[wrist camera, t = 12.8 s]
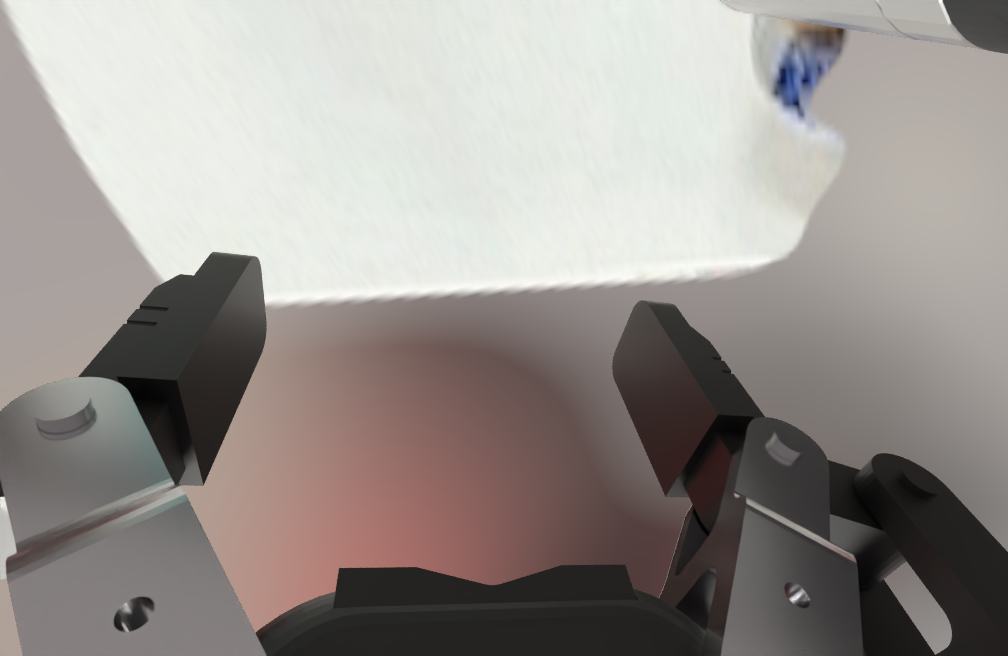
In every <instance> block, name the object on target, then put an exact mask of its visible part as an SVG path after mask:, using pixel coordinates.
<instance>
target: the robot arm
mask: <svg viewBox="0 0 1008 656" xmlns="http://www.w3.org/2000/svg"><path fill="white" fill-rule="evenodd" d="M720 1H721V2H722V3H724V4H725V5H727V6H729V7H730V8H732V9H734V10H737V11H741V12H745V13H750V14H756V15H762V16H769V17H774V18H780V19H786V20H792V21H799V22H805V23H812V24H818V25H825V26H831V27H838V28H844V29H851V30H857V31H863V32H870V33H876V34H883V35H890V36H896V37H903V38H909V39H916V40H924V41H931V42H938V43H944V44H951V45H958V46H963V47H970V48H977V49H983V50H989V51H994V52H1000V53H1006V54H1008V0H720ZM265 338H266V313H265V303H264V293H263V283H262V273H261V265H260V262H259V259H258V258H257V257H255V256H247V255H238V254H229V253H220V252H213V253H211V254H210V255H209V257H208V258H207V259H206V261H205V262H204V263H203V264H202V266H201V267H200V268H199V270H198V271H197V272H196V274H195V275H194V276H192V275H182V274H180V275H178V276H176V277H174V278H172V279H170V280H169V281H167V282H165V283H163V284H161V285H159V286H157V287H155V288H154V289H153V291H152V292H151V293H150V294H149V295H148V296H147V298H146V299H145V300H144V301H143V302H142V303H141V305H140V309H136V310H135V312H134V313H133V314H132V315H131V316H130V317H129V318H128V320H127V324H123V326H122V327H121V328H120V329H119V330H118V331H117V332H116V334H115V335H114V336H113V337H112V338H111V340H110V341H109V342H108V343H107V344H106V345H105V346H104V347H103V349H102V350H101V351H100V352H99V353H98V354H97V356H96V357H95V358H94V359H93V360H92V361H91V363H90V364H89V365H88V366H87V368H85V370H84V371H83V372H82V373H81V374H80V375H79V377H76V378H70V379H64V380H60V381H55V382H52V383H48V384H45V385H42V386H40V387H37V388H35V389H32V390H30V391H28V392H26V393H24V394H23V395H21V396H19V397H18V398H16V399H14V400H13V401H11V402H10V403H9V404H8V405H7V406H5V407H4V408H3V409H2V410H1V411H0V579H4V578H7V581H8V586H9V591H10V596H11V601H12V606H13V610H14V615H15V620H16V625H17V629H18V634H19V639H20V644H21V648H22V653H23V656H1008V552H1007V551H1006V550H1005V549H1004V548H1003V547H1002V546H1001V544H1000V543H999V542H998V541H997V540H996V539H995V538H994V537H993V536H992V535H991V534H990V533H989V531H988V530H987V529H986V528H985V527H984V526H983V525H982V524H981V523H980V522H979V521H978V520H977V519H976V517H975V516H974V515H973V514H972V513H971V512H970V511H969V510H968V509H967V508H966V507H965V506H964V505H963V504H962V502H961V501H960V500H959V499H958V498H957V497H956V496H955V495H954V494H953V493H952V492H951V491H950V489H948V488H947V486H946V485H944V483H943V482H941V481H940V480H939V479H938V478H937V477H935V476H934V475H933V474H931V473H930V472H929V471H927V470H926V469H924V468H923V467H921V466H919V465H917V464H916V463H914V462H912V461H910V460H908V459H905V458H903V457H900V456H897V455H893V454H885V453H882V454H877V455H875V456H874V457H873V458H872V459H871V460H870V461H869V462H868V463H867V464H866V465H865V466H864V467H863V468H862V469H861V470H858V469H855V468H852V467H849V466H845V465H842V464H839V463H836V462H832V461H829V460H827V457H826V456H825V454H824V452H823V451H822V449H821V448H820V447H819V446H818V445H817V444H816V442H815V441H813V440H812V439H811V438H810V437H809V436H808V435H806V434H805V433H804V432H802V431H801V430H799V429H798V428H796V427H794V426H792V425H790V424H788V423H786V422H783V421H781V420H778V419H774V418H768V417H765V416H764V415H763V414H762V412H761V411H760V410H759V408H758V407H757V405H756V404H755V403H754V401H753V400H752V398H751V397H750V396H749V395H748V393H747V392H746V390H745V389H744V388H743V386H742V385H741V383H740V382H739V381H738V379H737V378H736V377H735V375H734V374H731V370H730V368H729V367H728V366H727V364H726V363H725V362H724V361H721V356H720V355H719V354H718V352H717V351H716V349H715V348H714V347H713V345H712V344H711V343H710V341H708V340H707V339H706V338H705V337H703V336H702V335H701V334H700V333H698V332H697V331H696V330H695V329H693V328H692V327H690V325H689V324H688V323H687V321H686V320H685V318H684V317H683V316H682V314H681V313H680V311H679V310H678V308H677V307H676V306H675V305H673V304H669V303H661V302H652V301H639V302H638V303H637V304H636V305H635V307H634V308H633V310H632V313H631V315H630V317H629V320H628V322H627V325H626V327H625V329H624V332H623V334H622V337H621V339H620V341H619V344H618V346H617V349H616V351H615V353H614V357H613V365H612V367H613V368H612V369H613V376H614V380H615V382H616V384H617V387H618V389H619V391H620V394H621V396H622V398H623V400H624V403H625V405H626V407H627V410H628V412H629V414H630V417H631V419H632V421H633V423H634V426H635V428H636V430H637V433H638V435H639V437H640V439H641V442H642V444H643V446H644V449H645V451H646V453H647V455H648V458H649V460H650V462H651V464H652V467H653V469H654V471H655V474H656V476H657V478H658V481H659V483H660V485H661V487H662V490H663V492H664V494H665V497H689V498H690V499H691V502H692V504H693V505H692V506H691V507H690V509H689V510H688V512H687V514H686V516H685V519H684V522H683V525H682V529H681V532H680V535H679V539H678V542H677V545H676V549H675V552H674V555H673V559H672V562H671V565H670V569H669V572H668V575H667V579H666V582H665V585H664V588H663V590H662V593H661V595H660V597H659V598H657V597H655V596H653V595H651V594H648V593H645V592H643V591H640V590H638V589H634V588H632V584H631V581H630V578H629V575H628V572H627V569H626V566H625V565H567V566H566V565H561V566H558V567H555V568H552V569H549V570H545V571H542V572H538V573H535V574H532V575H529V576H526V577H522V578H519V579H516V580H513V581H510V582H506V583H503V584H499V585H485V584H481V583H477V582H473V581H469V580H465V579H461V578H457V577H453V576H449V575H445V574H441V573H437V572H433V571H429V570H425V569H421V568H417V567H397V568H396V567H395V568H339V573H338V579H337V586H336V592H333V593H329V594H326V595H323V596H319V597H317V598H314V599H312V600H309V601H307V602H305V603H302V604H300V605H298V606H296V607H294V608H293V609H291V610H289V611H287V612H285V613H283V614H281V615H280V616H278V617H277V618H275V619H274V620H273V621H271V622H269V623H268V624H267V625H265V626H264V627H262V628H261V629H259V630H258V631H257V632H256V633H255V632H254V629H253V628H252V625H251V623H250V622H249V619H248V618H247V615H246V613H245V611H244V609H243V608H242V606H241V603H240V601H239V600H238V597H237V596H236V593H235V592H234V589H233V588H232V586H231V584H230V582H229V580H228V578H227V576H226V574H225V572H224V570H223V568H222V566H221V564H220V562H219V560H218V558H217V556H216V554H215V552H214V550H213V548H212V546H211V544H210V542H209V540H208V538H207V536H206V534H205V532H204V530H203V528H202V526H201V524H200V522H199V520H198V518H197V516H196V514H195V512H194V510H193V508H192V506H191V504H190V502H189V500H188V498H187V496H186V494H185V492H184V490H183V489H182V487H181V485H195V486H197V485H199V486H203V485H204V483H205V481H206V479H207V476H208V474H209V472H210V470H211V467H212V465H213V462H214V460H215V458H216V456H217V454H218V451H219V449H220V447H221V444H222V442H223V440H224V438H225V435H226V433H227V431H228V429H229V426H230V424H231V422H232V419H233V417H234V415H235V413H236V410H237V408H238V406H239V404H240V401H241V399H242V397H243V395H244V392H245V390H246V388H247V385H248V383H249V381H250V379H251V376H252V374H253V372H254V369H255V367H256V365H257V363H258V360H259V358H260V356H261V353H262V351H263V348H264V344H265ZM906 561H907V562H908V563H909V565H910V566H911V567H912V569H913V570H914V571H915V573H916V574H917V576H918V577H919V578H920V579H921V581H922V582H923V584H924V585H925V586H926V588H927V589H928V590H929V592H930V593H931V594H932V596H933V597H934V598H935V600H936V601H937V602H938V604H939V605H940V607H941V608H942V609H943V611H944V612H945V614H946V615H947V617H948V619H949V622H950V624H951V629H952V640H951V643H950V645H949V646H948V647H947V648H946V649H945V650H943V651H941V652H940V653H938V654H936V655H935V654H934V652H933V651H932V649H931V648H930V647H929V645H928V644H927V642H926V641H925V639H924V638H923V636H922V635H921V633H920V632H919V630H918V629H917V628H916V626H915V625H914V623H913V622H912V620H911V619H910V617H909V616H908V614H907V613H906V611H905V610H904V609H903V607H902V606H901V604H900V603H899V601H898V600H897V598H896V597H895V595H894V594H893V592H892V591H891V589H890V588H889V586H888V585H887V584H886V582H885V581H884V578H886V577H887V576H888V575H889V574H891V573H892V572H893V571H895V570H896V569H897V568H898V567H900V566H901V565H902V564H903V563H905V562H906Z"/></svg>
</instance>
